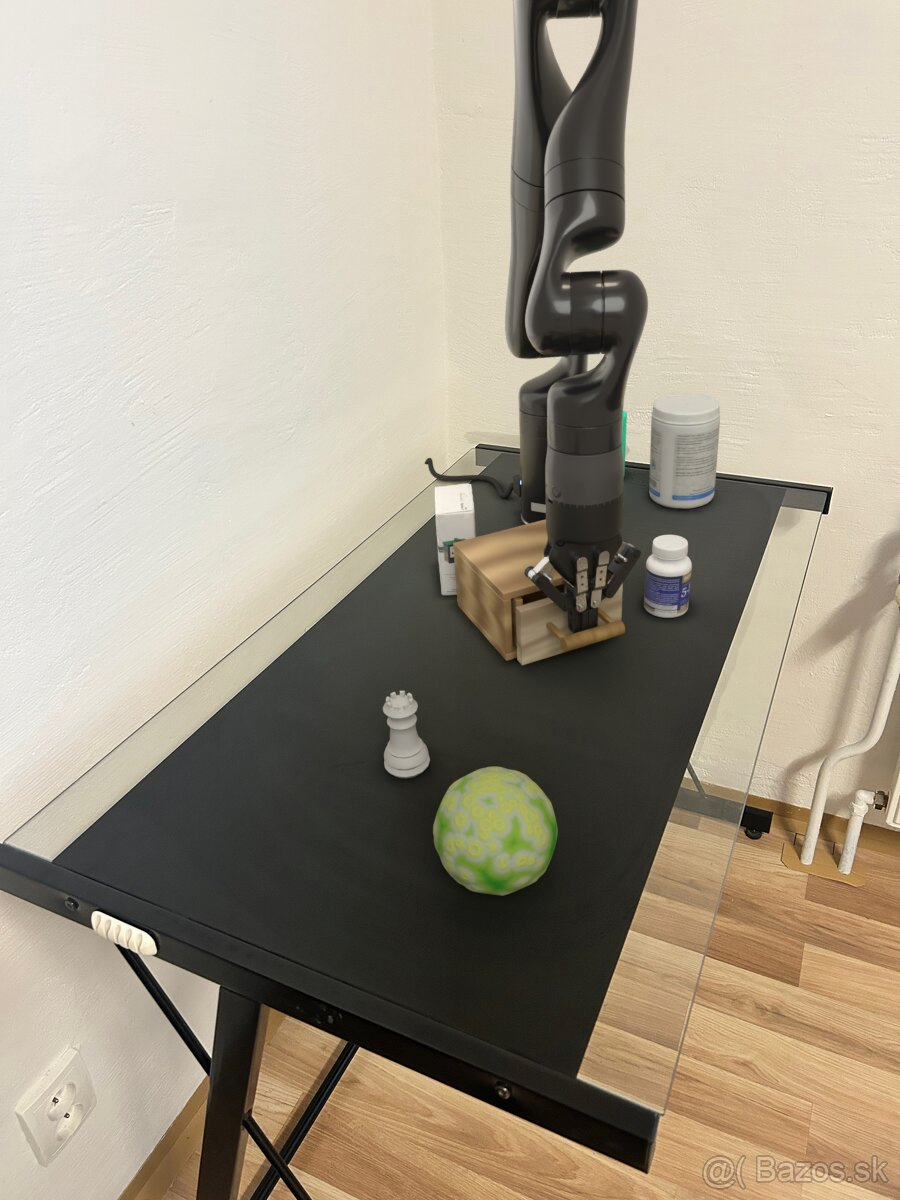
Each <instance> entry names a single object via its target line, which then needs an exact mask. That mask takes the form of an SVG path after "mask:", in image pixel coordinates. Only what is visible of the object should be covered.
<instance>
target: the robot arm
mask: <svg viewBox="0 0 900 1200" xmlns="http://www.w3.org/2000/svg"><path fill="white" fill-rule="evenodd" d="M638 5H639V0H512V17H513V18H512V20H513V22H512V23H513V49H514V51H513V52H514V53H513V55H514V56H513V57H514V98H513V99H514V100H513V101H514V103H513V119H512V120H513V121H512V138H511V154H510V183H509V184H510V186H509V187H510V189H509V190H510V192H509V193H510V194H509V195H510V254H509V256H510V257H509V266H508V277H507V278H508V279H507V288H506V300H505V313H504V332H505V333H504V334H505V341H506V344H507V345H506V346H507V347H508V350H509V352H510V354H512V356H514V357H515V358H516V359H521V360H522V359H524V360H536V359H537V360H538V359H552V358H560V359H559V361H558V362H556V364H555V365H554V366H552V367H551V368H550V369H548V370H547V371H545V372H543V373H541V374H539V375H537V376H535V377H533V378H531V379H529V380H527V381H525V382H524V383H523V384H522V385H521V386H520V387H519V390H518V425H519V427H518V428H519V456H518V458H519V459H518V460H519V461H518V462H519V474H514V475H512V482H511V483H510V484H509V486H508V487H507V489H506V491H505V492H504V491H503V488H502V486H501V484H500V483H499V481H498V480H497V479H496V478H494V477H492V476H489V475H484V474H483V475H482V474H466V475H465V474H464V475H446V474H445V475H444V474H441V473H438V472H437V471H436V470H435V467H434V463H433V458H431V457H428V458H426V459H425V461H424V465H427V468H428V470H429V473H430V475H431V476H432V477H433V478H435V479H437V480H440V481H445V482H465V481H483V482H488V483H490V484H492V485H493V486H494V488H495V490H496V493H497V495H498V496H499V497H500V498H501V499H508V498H509V497H510V496H511V495H512V493H513V494H515V495H516V496H517V497H518V498H520V521H521V524H522V525H526V524H530V523H534V522H538V521H541V520H545V519H546V530H547V536H548V540H547V543H546V546H545V548H544V551H543V554H544V558H543V559H542V560H541V561H540V562H539V563H538V564H537V566H536V567H535V568H534V567H533V566H529V567H527V568H526V569H525V572H524V574H525V576H526V577H527V578H529V579H530V580H531V581H532V582H533V583H534V584H535V585H536V586H537V587H538V588H539V589H540V590H541V591H542V592H543V593H544V594H545V595H547V596H548V597H549V598H550V599H551V600H552V601H553V602H554V603H555V604H556V605H557V606H558V607H559V608H560V609H561V610H563V611H568V628H569V630H570V631H571V632H572V633H573V634H574V633H577V632H580V631H584V630H587V629H590V628H594V627H597V626H598V606H599V605H600V603H601V601H602V600H603V599H605V598H606V597H607V598H612V597H614V595H615V594H616V592H617V591H618V589H619V588H620V586H621V585H622V583H623V584H624V582H625V581H626V579H627V577H628V576H629V575H630V573H631V572H632V570H633V568H635V566H636V564H637V562H638V561H639V560H640V558H641V556H642V551H641V550H640V549H638V548H637V547H636V546H634V545H633V544H632V543H630V542H629V541H628V540H624V537H623V534H622V533H621V530H622V526H623V507H624V506H623V503H624V478H625V475H624V459H623V450H622V428H623V411H624V404H625V396H626V389H627V385H628V380H629V375H630V371H631V368H632V365H633V362H634V359H635V355H636V354H637V351H638V348H639V345H640V342H641V339H642V335H643V333H644V329H645V326H646V322H647V318H648V313H649V296H648V292H647V289H646V287H645V285H644V282H643V281H642V279H641V278H640V277H639V276H638V274H636V273H635V272H634V271H632V270H630V269H621V268H620V269H603V270H590V271H589V270H586V271H585V270H583V271H571V272H569V271H567V270H568V269H569V267H570V266H571V265H572V264H573V263H574V262H575V261H577V260H578V259H581V258H583V257H586V256H589V255H592V254H596V253H598V252H602V251H604V250H607V249H609V248H611V247H613V246H615V245H616V244H617V243H619V241H620V240H621V239H622V237H623V235H624V233H625V229H626V228H625V227H626V157H625V156H626V155H625V154H626V153H625V151H626V147H625V146H626V128H627V126H626V125H627V116H628V115H627V114H628V105H629V96H630V89H631V88H630V87H631V80H632V72H633V71H632V70H633V62H634V61H633V60H634V51H635V41H636V32H637V31H636V30H637V17H638V8H639V6H638ZM589 18H590V19H600V18H601V21H600V30H599V34H598V39H597V42H596V45H595V49H594V51H593V53H592V56H591V58H590V60H589V62H588V64H587V66H586V68H585V70H584V71H583V73H582V75H581V77H580V79H579V81H578V82H577V84H576V86H575V88H574V89H573V90H572V88H571V87H570V85H569V83H568V81H567V79H566V78H565V75H564V73H563V72H562V70H561V68H560V65H559V63H558V60H557V58H556V55H555V52H554V49H553V46H552V42H551V40H550V36H549V31H548V25H547V24H548V21H550V20H575V19H576V20H577V19H579V20H580V19H589ZM600 354H601V355H603V357H602V358H601V360H600V361H599V362H598V364H597V365H595V366H594V368H592V369H590V370H588V369H589V368H588V365H589V356H590V355H600ZM552 567H553V568H554V569H555V570H556V571H557V572H558V573H559V574H560V575H561V580H562V583H563V584H564V590H565V593H561V592H560V591H559V590H558V589H557V588H556V587H555V586H554V585H553V584H551V583H552V582H553V581H554V579H553V574H552V571H551V570H552ZM613 574H614V576H613V578H612V579H611V581H610V582H609V584H608V581H609V580H610V578H611V577H612V575H613Z"/></svg>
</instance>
